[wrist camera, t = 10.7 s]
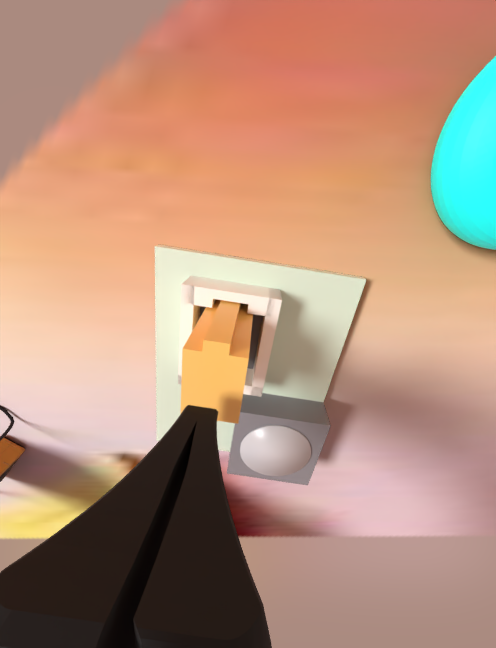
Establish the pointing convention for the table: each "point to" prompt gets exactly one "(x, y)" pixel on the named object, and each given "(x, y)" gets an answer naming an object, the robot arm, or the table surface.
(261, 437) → the grey dome button
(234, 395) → the plug
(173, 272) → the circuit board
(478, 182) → the donuts
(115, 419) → the table surface
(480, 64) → the table surface
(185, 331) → the frame
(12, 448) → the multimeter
